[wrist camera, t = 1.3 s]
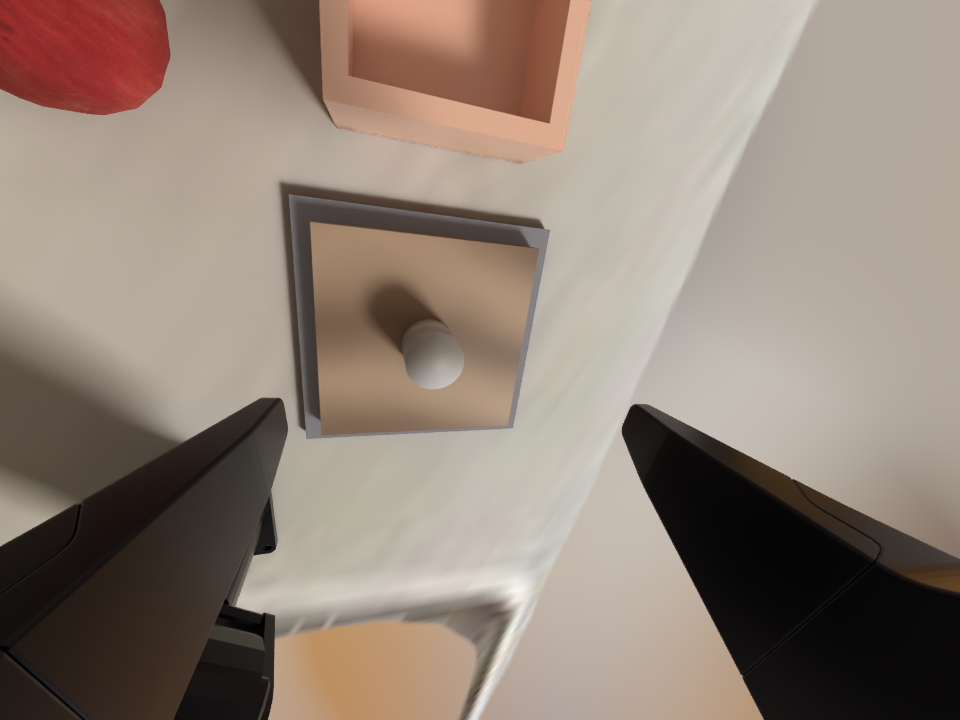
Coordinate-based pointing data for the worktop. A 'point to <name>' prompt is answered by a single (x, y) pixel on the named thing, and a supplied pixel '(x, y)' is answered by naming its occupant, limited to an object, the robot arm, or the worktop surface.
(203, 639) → the robot arm
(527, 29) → the terracotta dish
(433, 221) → the rubber mat
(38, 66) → the onion
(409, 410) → the walnut lid
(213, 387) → the worktop surface
